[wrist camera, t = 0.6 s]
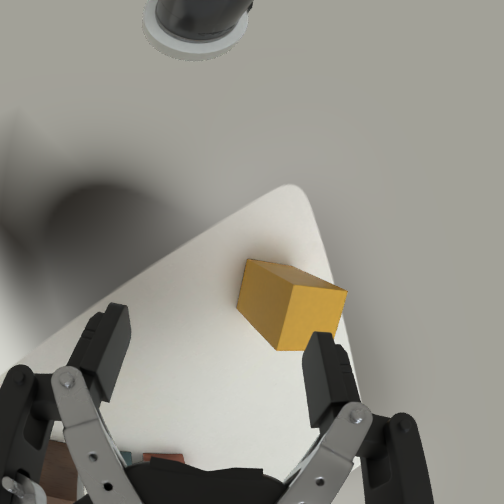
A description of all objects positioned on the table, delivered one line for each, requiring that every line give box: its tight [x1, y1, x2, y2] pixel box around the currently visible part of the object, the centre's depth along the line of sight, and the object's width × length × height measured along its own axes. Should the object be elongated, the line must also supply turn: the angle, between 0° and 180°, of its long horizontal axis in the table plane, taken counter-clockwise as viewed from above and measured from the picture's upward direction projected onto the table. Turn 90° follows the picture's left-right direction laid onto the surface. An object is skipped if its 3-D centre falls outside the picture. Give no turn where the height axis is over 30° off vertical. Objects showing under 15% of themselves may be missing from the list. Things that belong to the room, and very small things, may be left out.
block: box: [237, 259, 348, 351], centre depth 25 cm, size 5×5×9 cm
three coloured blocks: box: [39, 440, 185, 504], centre depth 22 cm, size 18×5×9 cm, turn 77°
